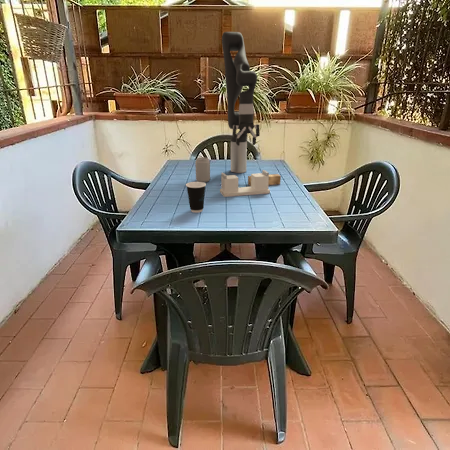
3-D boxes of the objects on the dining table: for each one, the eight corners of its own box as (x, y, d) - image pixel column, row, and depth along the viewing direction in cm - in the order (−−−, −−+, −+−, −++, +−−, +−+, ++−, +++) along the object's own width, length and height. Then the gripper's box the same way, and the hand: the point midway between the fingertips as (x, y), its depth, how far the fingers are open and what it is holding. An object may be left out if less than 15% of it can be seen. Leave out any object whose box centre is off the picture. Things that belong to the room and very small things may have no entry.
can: (193, 181, 182) (192, 158, 178) (200, 178, 188) (200, 156, 184) (205, 183, 179) (205, 160, 175) (212, 180, 185) (212, 157, 181)
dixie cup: (187, 207, 144) (185, 181, 140) (206, 207, 145) (205, 181, 141) (187, 214, 137) (185, 187, 133) (207, 213, 138) (206, 186, 133)
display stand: (224, 196, 158) (223, 176, 154) (220, 191, 165) (219, 172, 161) (269, 193, 163) (270, 173, 159) (263, 188, 170) (264, 169, 166)
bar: (250, 186, 174) (250, 177, 172) (247, 184, 178) (248, 176, 176) (280, 184, 178) (280, 175, 176) (277, 182, 181) (277, 174, 180)
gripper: (256, 112, 185) (256, 143, 190) (231, 113, 181) (231, 144, 187) (261, 113, 178) (261, 145, 183) (234, 113, 175) (234, 146, 180)
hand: (245, 145), depth 185 cm, fingers open, 8 cm apart
